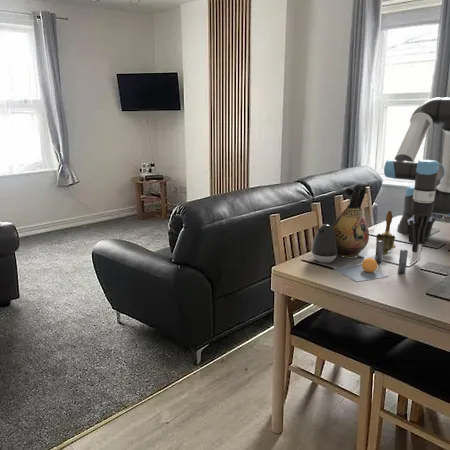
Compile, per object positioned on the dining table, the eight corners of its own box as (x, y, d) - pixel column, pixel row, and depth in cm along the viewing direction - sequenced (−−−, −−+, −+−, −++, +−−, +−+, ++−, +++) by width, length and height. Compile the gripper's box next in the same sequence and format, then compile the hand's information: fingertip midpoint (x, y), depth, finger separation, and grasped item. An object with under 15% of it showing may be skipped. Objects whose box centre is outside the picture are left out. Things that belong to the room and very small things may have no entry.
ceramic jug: (352, 263, 177) (359, 188, 169) (321, 253, 189) (326, 183, 181) (376, 254, 188) (384, 184, 180) (345, 245, 199) (351, 179, 191)
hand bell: (392, 243, 204) (396, 209, 200) (397, 248, 196) (401, 213, 192) (374, 242, 205) (377, 208, 200) (378, 248, 197) (381, 212, 192)
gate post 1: (378, 261, 179) (380, 239, 177) (383, 263, 177) (385, 241, 175) (373, 262, 179) (375, 240, 176) (377, 264, 176) (380, 242, 174)
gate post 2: (401, 272, 168) (404, 249, 166) (406, 274, 166) (409, 251, 164) (396, 272, 167) (398, 250, 165) (401, 275, 165) (403, 252, 163)
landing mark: (362, 264, 176) (362, 263, 176) (387, 276, 163) (387, 276, 163) (333, 268, 171) (333, 268, 171) (356, 282, 158) (356, 281, 158)
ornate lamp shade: (376, 249, 194) (378, 232, 192) (394, 252, 190) (396, 234, 188) (372, 254, 188) (374, 236, 185) (391, 257, 184) (393, 239, 182)
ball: (360, 256, 168) (357, 270, 169) (370, 260, 163) (367, 274, 164) (371, 255, 170) (368, 269, 171) (381, 260, 165) (379, 274, 166)
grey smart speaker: (305, 260, 179) (307, 224, 175) (320, 255, 186) (322, 219, 183) (327, 267, 172) (330, 229, 168) (341, 261, 179) (345, 224, 176)
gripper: (417, 204, 165) (410, 264, 171) (444, 201, 169) (435, 260, 176) (402, 200, 171) (396, 258, 177) (428, 197, 176) (421, 254, 182)
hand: (415, 259), depth 177 cm, fingers closed
